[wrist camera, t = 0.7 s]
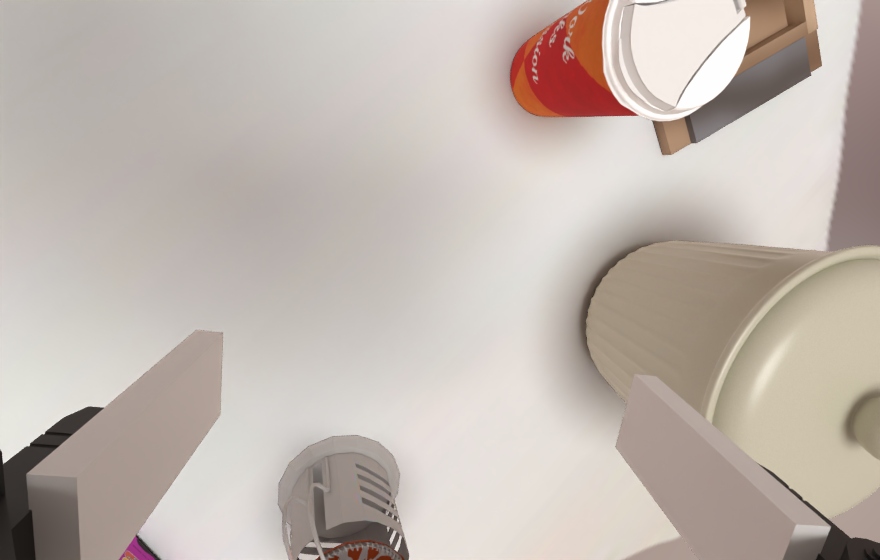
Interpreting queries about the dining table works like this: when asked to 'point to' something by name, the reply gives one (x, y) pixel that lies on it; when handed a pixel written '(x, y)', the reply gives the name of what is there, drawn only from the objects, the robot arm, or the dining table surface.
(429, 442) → the dining table surface
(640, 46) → the paper cup
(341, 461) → the french press
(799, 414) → the canister
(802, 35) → the wooden compartment tray
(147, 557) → the candy bar box
